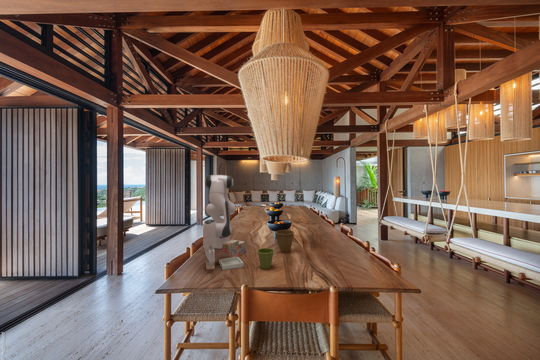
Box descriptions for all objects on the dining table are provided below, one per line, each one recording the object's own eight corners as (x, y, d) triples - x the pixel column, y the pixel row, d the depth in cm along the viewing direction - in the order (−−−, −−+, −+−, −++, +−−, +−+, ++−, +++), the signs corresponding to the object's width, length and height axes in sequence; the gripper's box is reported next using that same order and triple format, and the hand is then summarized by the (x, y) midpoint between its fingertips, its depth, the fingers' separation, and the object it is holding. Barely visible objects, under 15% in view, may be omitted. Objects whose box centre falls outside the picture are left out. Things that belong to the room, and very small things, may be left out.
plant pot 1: (258, 271, 154) (257, 253, 154) (256, 264, 166) (256, 248, 166) (276, 269, 156) (275, 252, 156) (273, 263, 168) (273, 247, 168)
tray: (218, 263, 169) (218, 259, 169) (238, 260, 174) (238, 256, 174) (222, 270, 156) (222, 265, 156) (243, 267, 161) (243, 262, 161)
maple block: (205, 267, 162) (205, 259, 162) (213, 266, 164) (213, 258, 164) (206, 269, 157) (206, 262, 157) (214, 268, 159) (214, 261, 159)
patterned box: (239, 251, 196) (239, 236, 196) (245, 252, 193) (245, 237, 193) (222, 259, 177) (222, 243, 177) (228, 261, 174) (228, 244, 174)
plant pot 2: (277, 248, 204) (277, 229, 204) (294, 249, 201) (294, 230, 201) (274, 253, 190) (274, 233, 190) (293, 254, 187) (292, 234, 187)
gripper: (217, 247, 152) (217, 269, 152) (212, 240, 171) (212, 259, 171) (207, 249, 150) (207, 271, 150) (203, 241, 169) (203, 260, 169)
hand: (210, 264), depth 161 cm, fingers closed on maple block, 5 cm apart
